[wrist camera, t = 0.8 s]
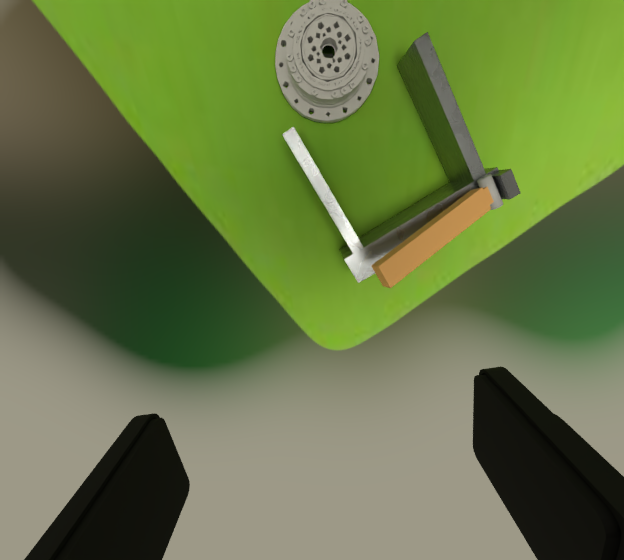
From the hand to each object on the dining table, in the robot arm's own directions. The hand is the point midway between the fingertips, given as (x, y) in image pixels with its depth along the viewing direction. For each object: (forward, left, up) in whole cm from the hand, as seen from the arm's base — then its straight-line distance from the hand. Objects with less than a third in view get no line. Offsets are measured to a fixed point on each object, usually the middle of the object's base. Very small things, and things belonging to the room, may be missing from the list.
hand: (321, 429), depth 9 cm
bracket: (-11, -3, -27) cm, 29 cm away
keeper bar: (-11, +3, -19) cm, 23 cm away
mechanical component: (-11, -15, -27) cm, 33 cm away
